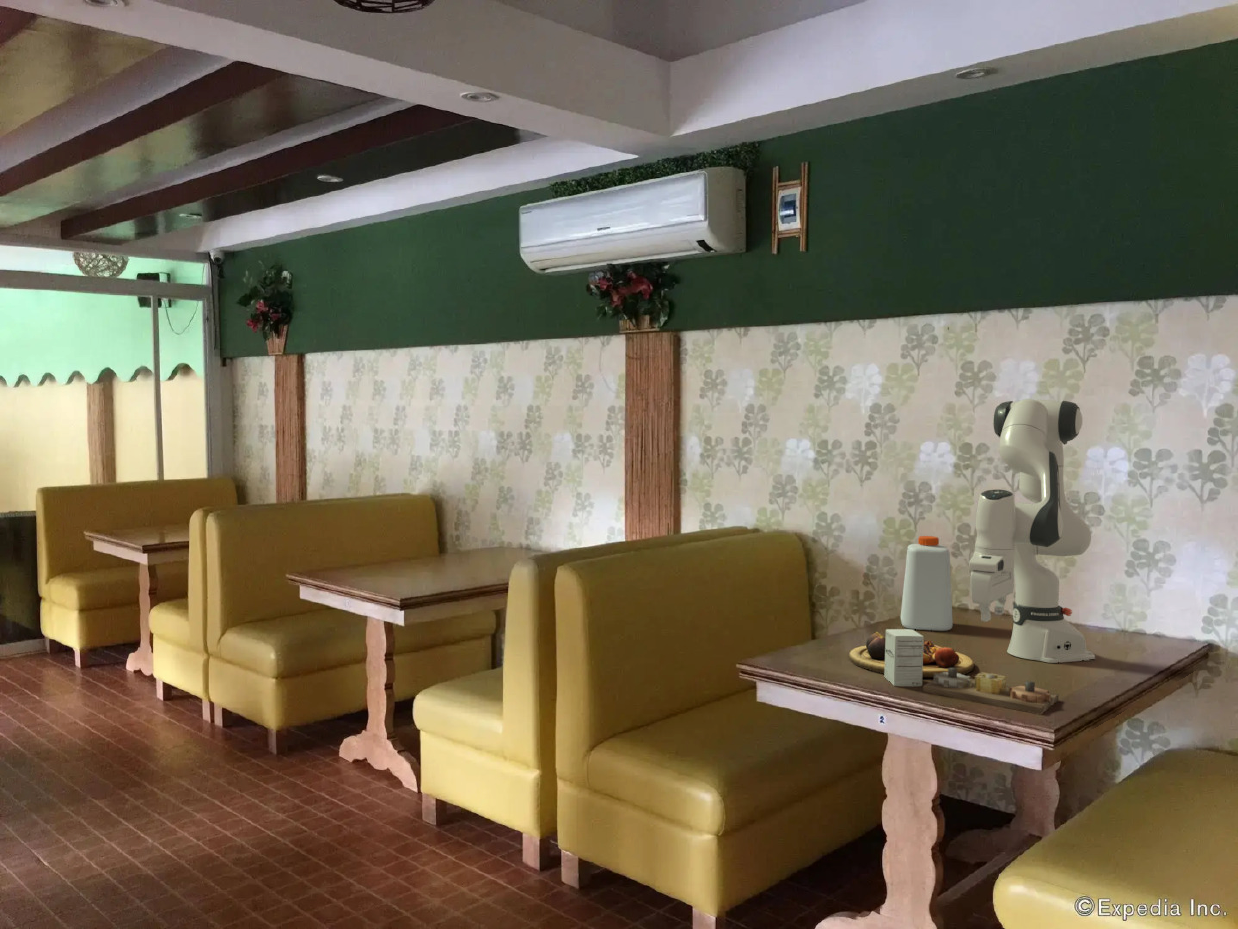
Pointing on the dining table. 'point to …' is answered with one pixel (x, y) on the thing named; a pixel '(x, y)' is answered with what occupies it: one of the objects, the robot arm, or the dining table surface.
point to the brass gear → (990, 683)
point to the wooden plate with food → (933, 657)
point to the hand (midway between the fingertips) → (992, 617)
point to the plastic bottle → (927, 586)
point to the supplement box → (904, 657)
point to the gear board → (1010, 698)
